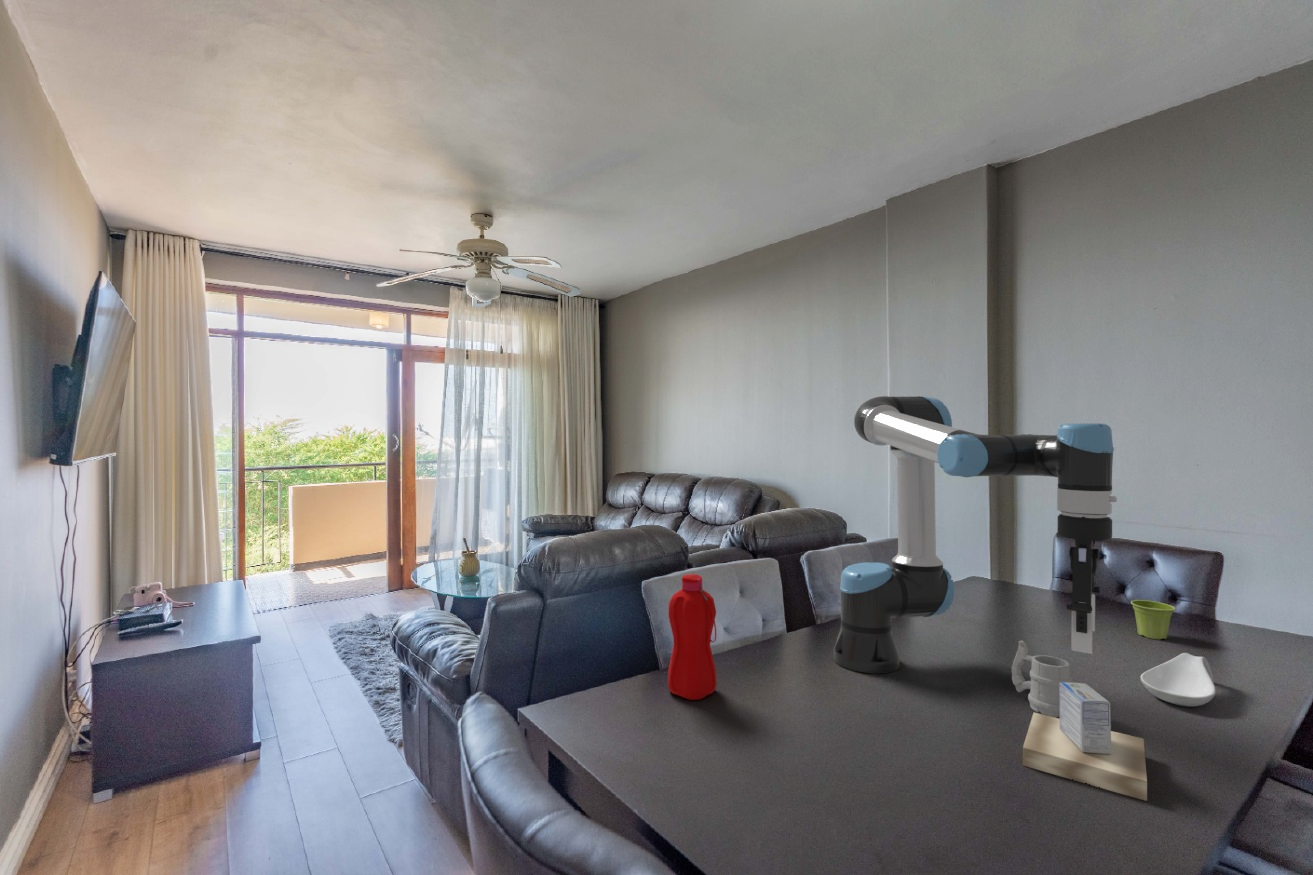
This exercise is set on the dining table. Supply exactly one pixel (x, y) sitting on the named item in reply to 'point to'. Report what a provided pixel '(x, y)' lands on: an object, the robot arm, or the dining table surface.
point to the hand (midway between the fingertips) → (1083, 640)
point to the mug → (1041, 680)
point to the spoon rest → (1181, 681)
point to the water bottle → (692, 640)
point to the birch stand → (1087, 758)
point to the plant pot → (1152, 618)
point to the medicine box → (1085, 717)
